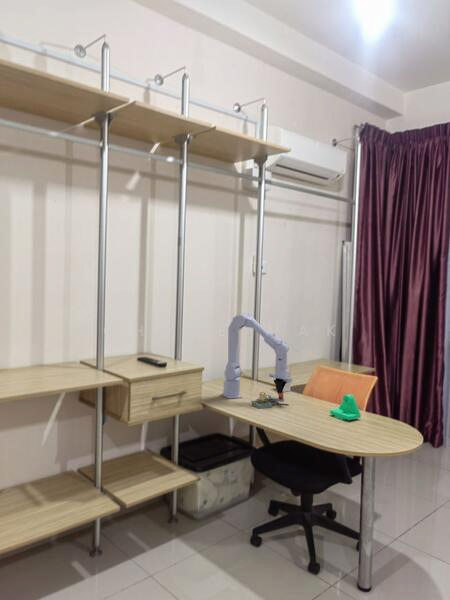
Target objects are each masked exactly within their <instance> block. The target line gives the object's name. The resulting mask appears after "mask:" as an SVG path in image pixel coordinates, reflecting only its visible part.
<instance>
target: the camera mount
mask: <svg viewBox="0 0 450 600" xmlns="http://www.w3.org/2000/svg"><path fill="white" fill-rule="evenodd" d="M329 414H330V415H333V416H334V418H336V419H339V420H342V421H345V420H347V421H351V420H356V419H360V418H361V417H362V416H361V412H360V409H359V407H358V404H357V402H356V399H355V396H354V395H353V394H350V393H349V394H346V395H343V396H342V402H341V404H339V407H338V408H332V409H329Z"/></svg>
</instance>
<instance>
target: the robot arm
mask: <svg viewBox="0 0 450 600" xmlns="http://www.w3.org/2000/svg"><path fill="white" fill-rule="evenodd" d="M244 327H245V328H251V329H253V330H254V331H255V332H256V333H258V334H259V335H260V336H261V337H262V338H263V342H265V343H266V344H267V345H268V346H269V347H270V348H272V350H274V353H275V365H274V368H275V369H274V372H269V376H268V377H269V378H274V379H273V383H274V385H275V389H276V388H277V389H276V391H277V392H276V393H277V394H278V395H279V392H283V389H284V386H285V384H286V383H287V382H289V383H290V384H291V383H293V378H292V377H291V378H290V377H288V376H286V372H287V367H288V366H287V364H288V352H289V350H290V347H289V345H288V344H287V342H284V341H283V340H282V339H280V338H278V336H277V335H276V333H273V332H268V331H267V330H266V329H265V328H264V327H263V326H262V325H261V324H260V323H259V322H258V321H257V320H256V319H255V317H253V316H251V315H250V314H249V313H245V312H243V313H242V314H240V313H239V314H237V315H235V316H234V317H233V318H232V320H231V322H230V324H229V326H228V329H227V331H228V332H227V335H228V337H227V341H228V342H227V343H228V344H227V347H228V348H227V350H228V351H227V353H228V354H227V357H228V358H227V359H228V360H227V363H226V365H225V371H224V373H223V374H224V378H225V379H224V381H223V389H222V390H223V393H221V395H222V396H223V397H225V398H227V399H229V400H230V399H240V398H243V396H242V395H240V389H241V388H240V386H241V385H240V383H241V382H240V377H241V375H242V368H241V363H240V361H239V331H241V330H242V329H243V328H244ZM283 393H284V392H283Z"/></svg>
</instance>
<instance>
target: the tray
mask: <svg viewBox="0 0 450 600" xmlns="http://www.w3.org/2000/svg"><path fill="white" fill-rule="evenodd" d="M265 402H266V403H267V404H259V400H256V399H255V400H251V406H254V407H256V409H266V408H267V409H268V408H272V406H273V405H272V403H270V402H268V401H266V400H265Z"/></svg>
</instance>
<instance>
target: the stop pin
mask: <svg viewBox="0 0 450 600" xmlns="http://www.w3.org/2000/svg"><path fill="white" fill-rule="evenodd" d="M265 395H266V392H261V391H260V392H259V397H258V398H259V404H265Z"/></svg>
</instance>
